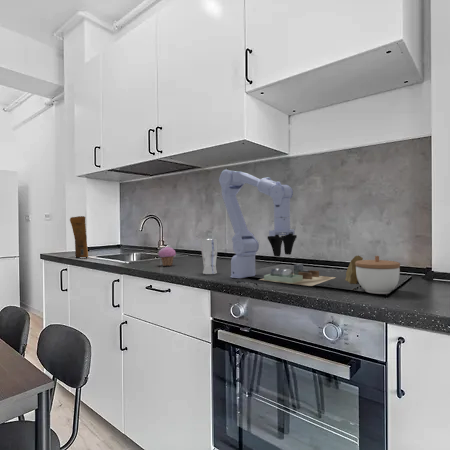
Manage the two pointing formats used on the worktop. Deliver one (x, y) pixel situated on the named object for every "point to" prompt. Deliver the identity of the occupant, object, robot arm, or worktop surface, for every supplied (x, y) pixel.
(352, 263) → the rock
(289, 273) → the grey cylinder
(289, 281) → the tray
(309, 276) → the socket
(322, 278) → the board
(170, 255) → the cupcake
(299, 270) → the grey stepped block
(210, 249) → the beer glass
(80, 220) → the pancake mix bag
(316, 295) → the worktop surface
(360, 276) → the lidded bowl
